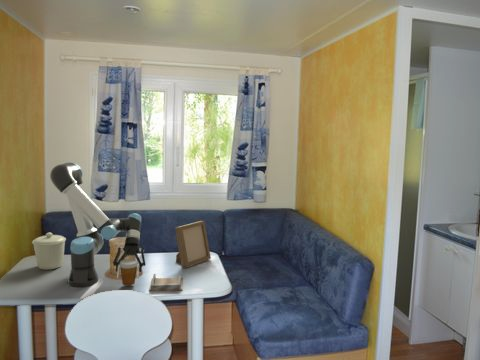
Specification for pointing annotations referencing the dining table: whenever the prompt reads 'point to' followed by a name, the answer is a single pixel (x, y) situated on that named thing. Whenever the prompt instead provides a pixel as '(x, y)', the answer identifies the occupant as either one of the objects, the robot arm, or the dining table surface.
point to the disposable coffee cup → (128, 271)
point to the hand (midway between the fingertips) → (127, 277)
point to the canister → (49, 251)
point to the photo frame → (192, 244)
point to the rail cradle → (166, 284)
